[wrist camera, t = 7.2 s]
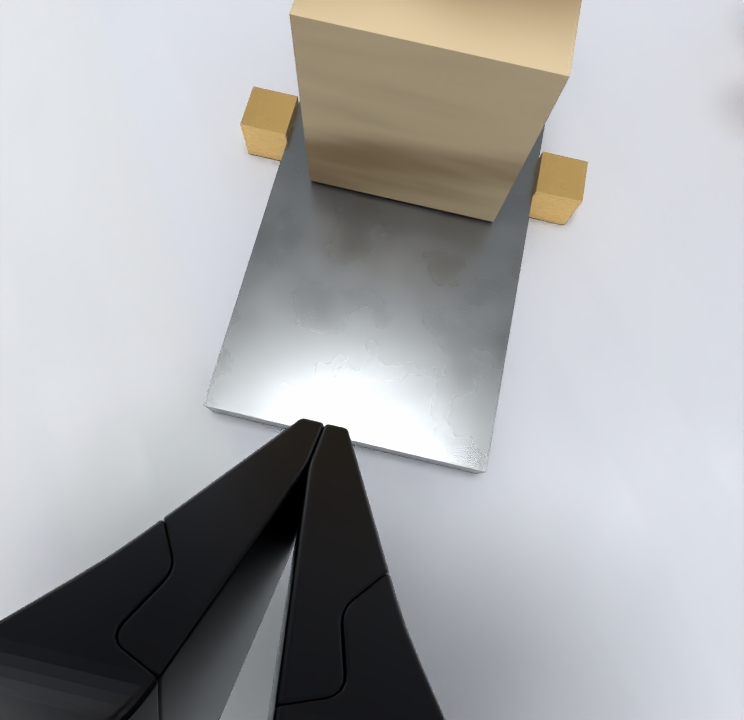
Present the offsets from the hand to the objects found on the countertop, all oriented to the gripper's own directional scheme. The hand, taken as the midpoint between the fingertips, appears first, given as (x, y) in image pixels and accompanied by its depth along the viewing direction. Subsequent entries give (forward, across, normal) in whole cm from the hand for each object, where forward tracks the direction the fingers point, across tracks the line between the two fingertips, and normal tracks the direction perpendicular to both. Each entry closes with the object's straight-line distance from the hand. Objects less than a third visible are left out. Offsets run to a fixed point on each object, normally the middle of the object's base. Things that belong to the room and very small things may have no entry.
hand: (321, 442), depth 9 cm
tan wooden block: (+18, 0, -3) cm, 18 cm away
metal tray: (+17, 0, 0) cm, 17 cm away
